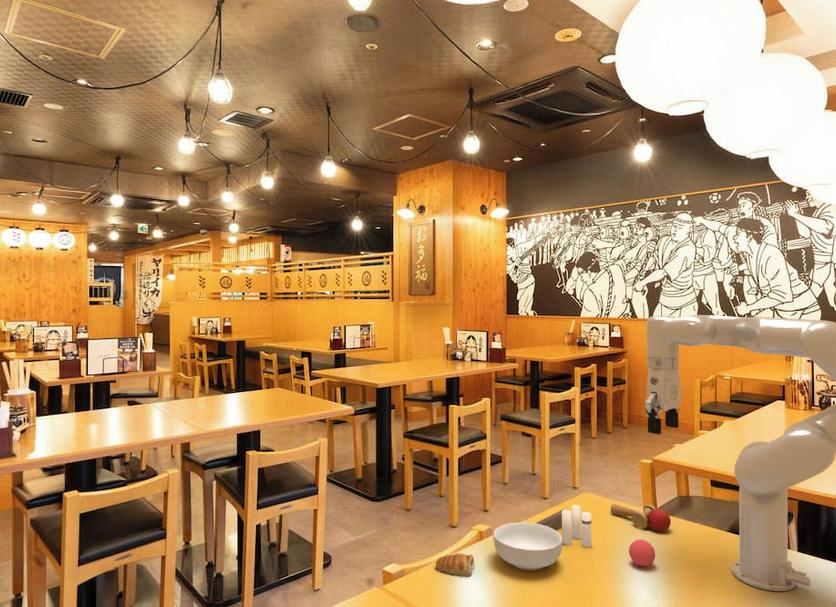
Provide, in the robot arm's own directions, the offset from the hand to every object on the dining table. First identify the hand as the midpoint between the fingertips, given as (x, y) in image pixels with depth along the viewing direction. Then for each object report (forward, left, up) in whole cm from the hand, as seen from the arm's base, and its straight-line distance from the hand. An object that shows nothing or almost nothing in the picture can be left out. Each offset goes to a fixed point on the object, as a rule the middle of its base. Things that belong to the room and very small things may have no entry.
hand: (663, 430), depth 140 cm
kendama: (+13, -14, -32) cm, 37 cm away
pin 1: (+21, +13, -32) cm, 40 cm away
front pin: (+16, +10, -32) cm, 37 cm away
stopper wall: (+28, +10, -32) cm, 43 cm away
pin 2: (+21, +8, -32) cm, 39 cm away
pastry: (+32, +45, -32) cm, 63 cm away
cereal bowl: (+22, +29, -32) cm, 49 cm away
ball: (+1, +10, -29) cm, 31 cm away
